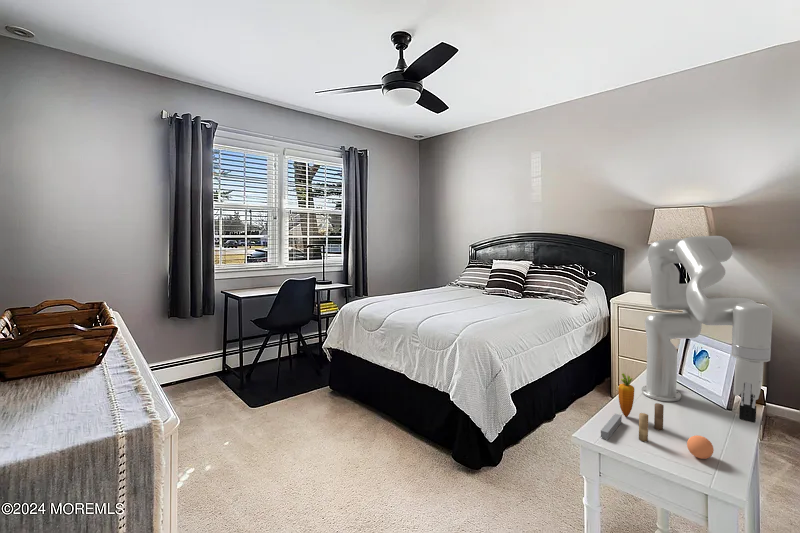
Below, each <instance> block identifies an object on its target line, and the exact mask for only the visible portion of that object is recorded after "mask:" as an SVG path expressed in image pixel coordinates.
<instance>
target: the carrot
mask: <svg viewBox="0 0 800 533" xmlns="http://www.w3.org/2000/svg"><path fill="white" fill-rule="evenodd" d="M621 376H622V378H621V379H620V380H621V382H622V383H620V384H619V385H618V390H617V392H618V393H617V394H618V403H619V408H620V410H621V412H622V415H623V416H624V417H626V418H627V417H628V416H629V415H630V414H631V412H632V409H633V407H634V406H633V405H634V400H635V386H634V385H632V384H631V382H632V380H633V378H632V377H630V375H627V376H626V375H625V373H624V372H623V373H621Z"/></svg>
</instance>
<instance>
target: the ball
mask: <svg viewBox="0 0 800 533" xmlns="http://www.w3.org/2000/svg"><path fill="white" fill-rule="evenodd" d="M686 447H687V449H688V452H689V453H690V454H691V455H693V457H696V458H697V459H702V460H705V459H709V458H711V457H712V455H713V454H714V451H715V449H714V445H713V444H712V442H711V441H710V440H709V439H708V438H706V437H705V436H704V435H703V436H702V435H697V434H696V435H692V436H690V437H689V438H688V439H687V442H686Z"/></svg>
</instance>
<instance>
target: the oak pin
mask: <svg viewBox="0 0 800 533" xmlns="http://www.w3.org/2000/svg"><path fill="white" fill-rule="evenodd" d="M638 440H639V441H641V442H644V443H646V442H648V441H649V415H648V413H645V412H641V413H640V412H639V415H638Z"/></svg>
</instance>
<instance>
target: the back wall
mask: <svg viewBox="0 0 800 533" xmlns="http://www.w3.org/2000/svg"><path fill="white" fill-rule="evenodd" d="M622 415H623V414H618V413H614V414H612V417H611V418H610V419H609V420H608V421H607V423H605V425H604V426H603V427H602V428H601V430H600V438H601V437H602V438H604V439H603V440H605V439H607V440H606V441H608V440H609V439H610V438H611V437H612V435H613V434H614V433H615V431H617V429H618V428H619V426H620V425H621V423H622V418H623V416H622ZM610 436H611V437H610ZM609 437H610V438H609ZM602 438H601V439H602Z"/></svg>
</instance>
